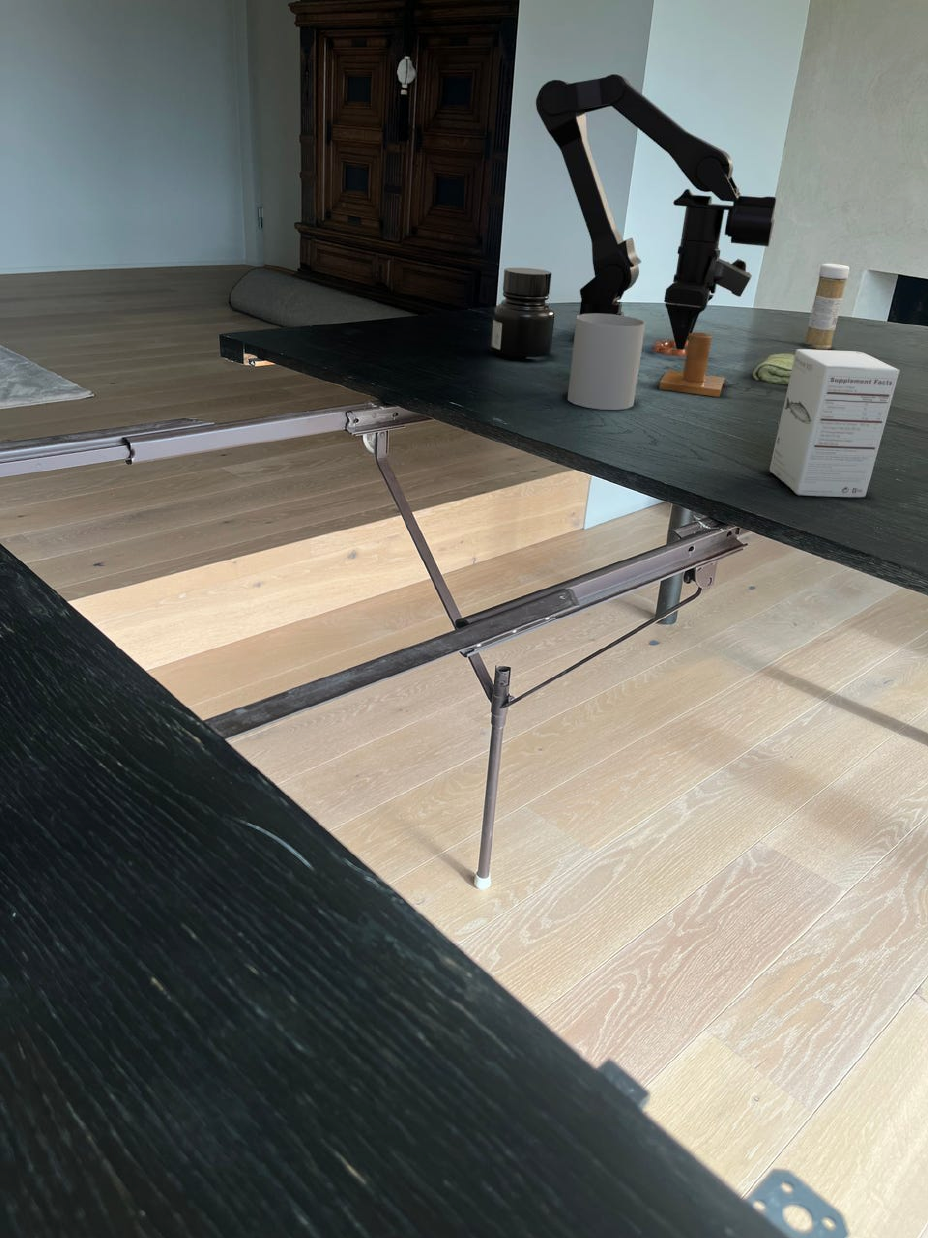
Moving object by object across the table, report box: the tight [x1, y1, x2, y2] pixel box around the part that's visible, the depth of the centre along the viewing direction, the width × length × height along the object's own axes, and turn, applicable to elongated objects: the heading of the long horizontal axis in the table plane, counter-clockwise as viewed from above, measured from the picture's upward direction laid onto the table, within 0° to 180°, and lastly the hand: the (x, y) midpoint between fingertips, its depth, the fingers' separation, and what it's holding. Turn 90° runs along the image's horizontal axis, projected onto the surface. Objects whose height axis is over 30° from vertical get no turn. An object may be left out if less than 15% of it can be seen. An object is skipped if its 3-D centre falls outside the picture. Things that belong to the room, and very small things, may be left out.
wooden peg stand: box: [658, 332, 726, 398], centre depth 130 cm, size 8×8×7 cm
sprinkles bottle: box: [803, 263, 850, 350], centre depth 161 cm, size 5×5×14 cm
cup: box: [567, 313, 646, 411], centre depth 119 cm, size 8×8×10 cm
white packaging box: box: [769, 348, 900, 498], centre depth 93 cm, size 7×7×13 cm
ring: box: [651, 339, 710, 358], centre depth 150 cm, size 9×9×2 cm
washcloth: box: [752, 352, 795, 386], centre depth 136 cm, size 13×18×3 cm
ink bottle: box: [490, 267, 555, 362], centre depth 140 cm, size 10×9×12 cm
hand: (683, 344), depth 153 cm, fingers open, 9 cm apart
